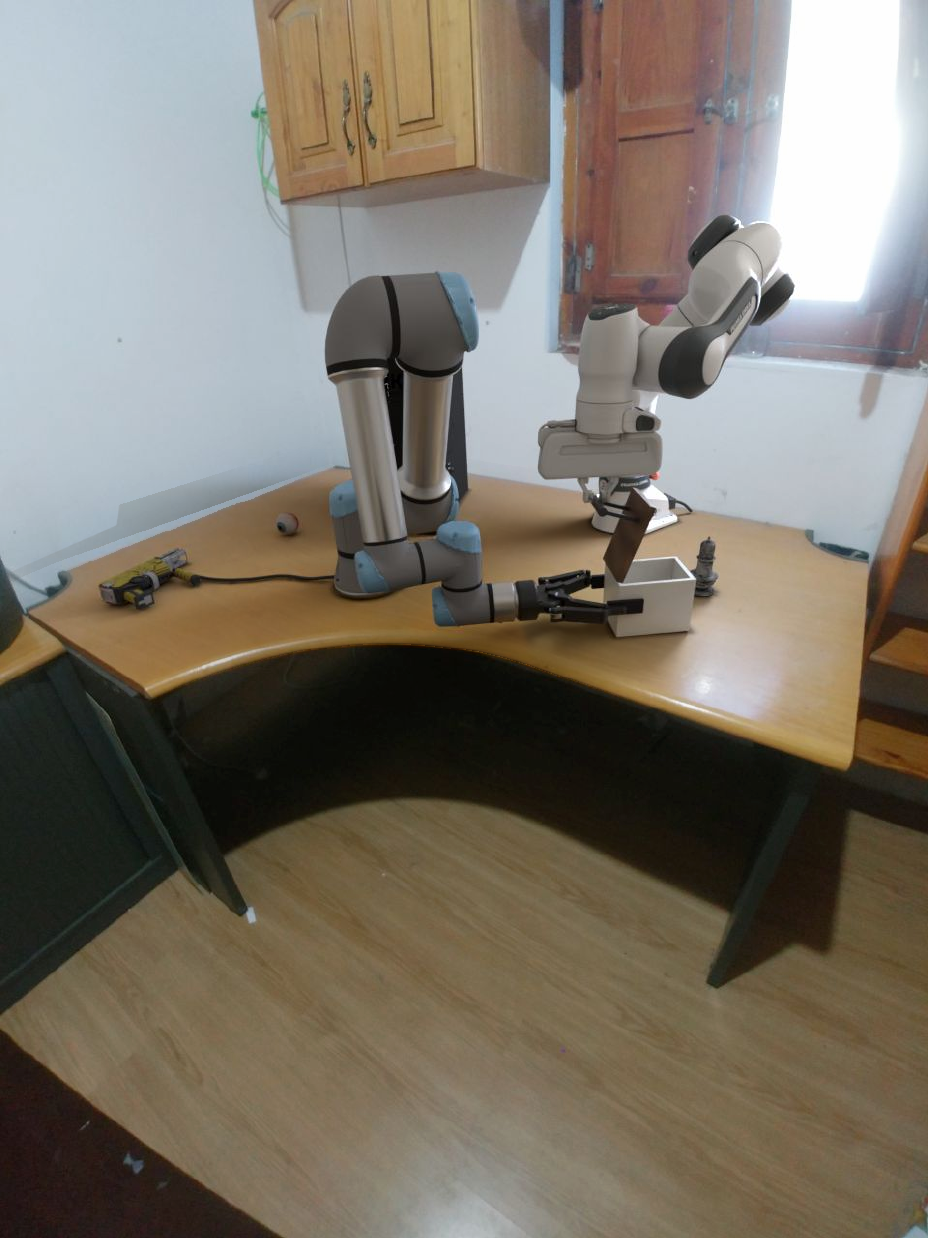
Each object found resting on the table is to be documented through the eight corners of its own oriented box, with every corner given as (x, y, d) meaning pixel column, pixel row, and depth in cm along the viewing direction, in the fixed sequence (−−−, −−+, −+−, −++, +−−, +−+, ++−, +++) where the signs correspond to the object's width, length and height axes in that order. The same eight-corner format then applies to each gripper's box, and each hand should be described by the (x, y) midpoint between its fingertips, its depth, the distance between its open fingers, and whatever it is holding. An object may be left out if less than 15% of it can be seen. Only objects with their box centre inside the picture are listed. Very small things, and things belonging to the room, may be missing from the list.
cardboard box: (436, 534, 159) (422, 349, 137) (364, 531, 164) (339, 351, 141) (468, 489, 191) (460, 332, 168) (407, 487, 195) (391, 335, 173)
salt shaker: (717, 597, 122) (727, 542, 116) (687, 595, 123) (695, 541, 117) (713, 584, 127) (722, 531, 121) (684, 583, 128) (692, 530, 122)
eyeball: (273, 537, 164) (268, 516, 161) (287, 528, 169) (282, 508, 166) (291, 539, 161) (286, 518, 158) (305, 530, 166) (301, 510, 163)
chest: (670, 604, 120) (676, 555, 115) (689, 630, 112) (696, 579, 106) (602, 610, 120) (605, 562, 115) (616, 637, 112) (619, 586, 106)
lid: (638, 488, 108) (594, 477, 106) (656, 507, 99) (609, 495, 98) (608, 559, 115) (566, 550, 113) (622, 583, 106) (577, 573, 104)
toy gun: (224, 556, 146) (173, 545, 150) (148, 597, 126) (92, 584, 130) (226, 573, 148) (177, 563, 152) (152, 617, 128) (97, 603, 132)
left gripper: (507, 591, 124) (614, 583, 124) (524, 651, 104) (651, 640, 105) (507, 558, 120) (617, 549, 121) (524, 613, 100) (656, 602, 101)
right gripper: (542, 425, 93) (539, 510, 100) (671, 419, 94) (660, 504, 101) (535, 417, 99) (532, 498, 106) (657, 411, 100) (647, 492, 107)
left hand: (633, 592), depth 113 cm, fingers closed on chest, 10 cm apart
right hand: (596, 501), depth 103 cm, fingers closed
